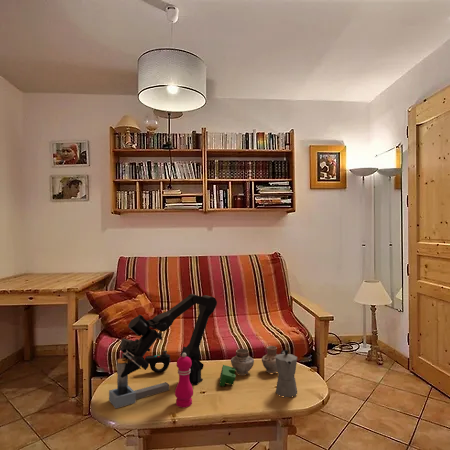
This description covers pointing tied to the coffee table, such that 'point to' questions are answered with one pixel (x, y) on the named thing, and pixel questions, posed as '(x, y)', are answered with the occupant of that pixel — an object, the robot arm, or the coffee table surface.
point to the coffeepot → (286, 374)
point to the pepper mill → (184, 382)
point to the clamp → (227, 375)
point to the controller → (158, 358)
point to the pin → (121, 382)
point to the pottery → (246, 362)
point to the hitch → (135, 394)
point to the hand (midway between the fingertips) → (119, 375)
